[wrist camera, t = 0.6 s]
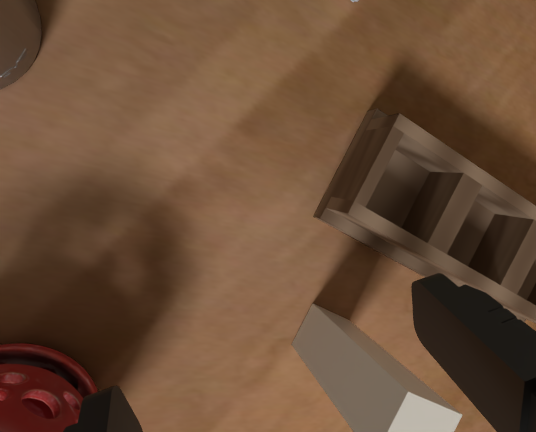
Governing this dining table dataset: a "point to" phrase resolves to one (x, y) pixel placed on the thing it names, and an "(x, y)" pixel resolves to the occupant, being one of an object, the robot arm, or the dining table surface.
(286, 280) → the dining table surface
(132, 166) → the dining table surface
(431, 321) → the robot arm
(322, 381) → the clay bar
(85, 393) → the plant pot
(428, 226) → the walnut rack
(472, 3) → the dining table surface
